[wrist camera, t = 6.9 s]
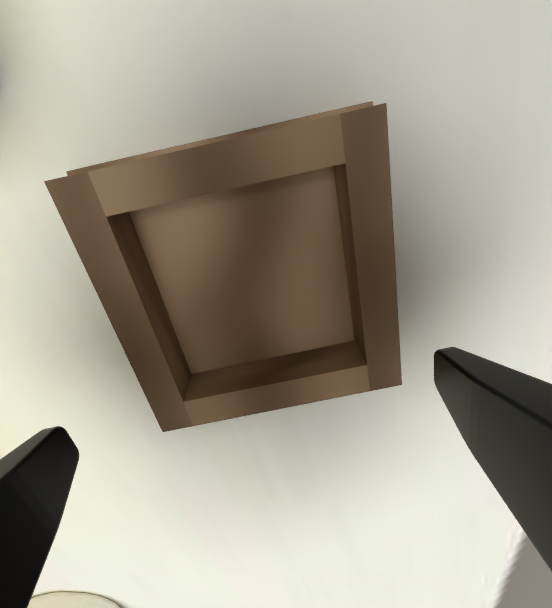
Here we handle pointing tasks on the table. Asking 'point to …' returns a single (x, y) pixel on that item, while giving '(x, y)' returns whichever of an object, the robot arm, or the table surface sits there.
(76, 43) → the table surface
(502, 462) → the robot arm
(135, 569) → the table surface
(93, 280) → the base
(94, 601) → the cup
